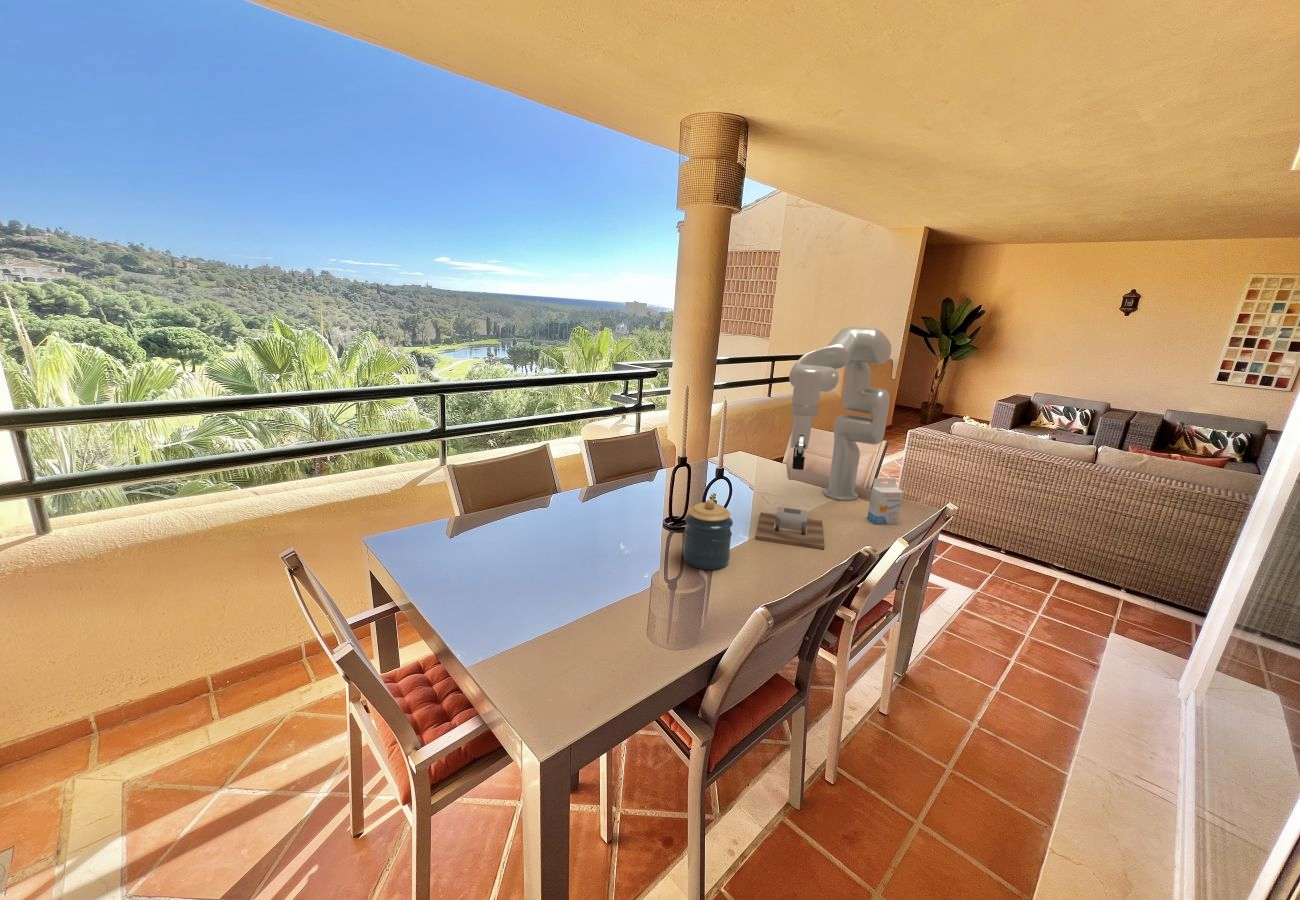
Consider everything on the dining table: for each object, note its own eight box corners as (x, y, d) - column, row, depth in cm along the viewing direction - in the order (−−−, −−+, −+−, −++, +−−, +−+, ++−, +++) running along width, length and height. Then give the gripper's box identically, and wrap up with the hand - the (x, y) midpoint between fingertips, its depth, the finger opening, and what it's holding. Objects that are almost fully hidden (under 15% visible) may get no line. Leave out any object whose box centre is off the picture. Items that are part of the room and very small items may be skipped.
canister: (728, 573, 132) (733, 511, 127) (679, 567, 134) (683, 506, 130) (730, 551, 144) (735, 494, 140) (685, 546, 147) (689, 489, 142)
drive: (776, 522, 162) (778, 506, 161) (805, 526, 160) (807, 510, 158) (775, 527, 158) (777, 511, 157) (805, 532, 156) (807, 515, 154)
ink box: (874, 524, 167) (881, 483, 163) (866, 518, 172) (873, 478, 168) (898, 524, 168) (905, 482, 164) (889, 518, 173) (896, 477, 169)
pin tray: (760, 515, 171) (761, 503, 170) (821, 523, 166) (823, 512, 165) (755, 539, 153) (756, 526, 152) (824, 549, 148) (825, 536, 146)
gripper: (791, 404, 158) (786, 456, 163) (790, 414, 142) (784, 471, 147) (816, 406, 156) (810, 458, 161) (818, 416, 140) (811, 474, 145)
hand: (797, 464), depth 154 cm, fingers open, 9 cm apart
